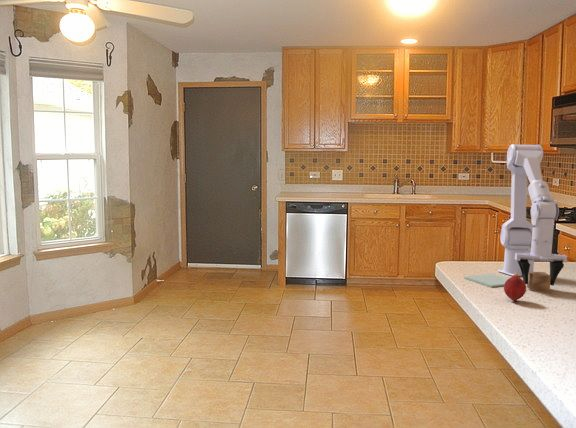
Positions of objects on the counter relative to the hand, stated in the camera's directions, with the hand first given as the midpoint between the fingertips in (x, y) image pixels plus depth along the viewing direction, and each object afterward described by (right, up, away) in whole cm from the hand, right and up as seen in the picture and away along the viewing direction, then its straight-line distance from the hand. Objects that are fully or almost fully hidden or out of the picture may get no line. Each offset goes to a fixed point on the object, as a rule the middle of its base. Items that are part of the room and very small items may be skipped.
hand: (538, 284), depth 165 cm
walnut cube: (0, -2, 0) cm, 2 cm away
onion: (-13, -3, -13) cm, 18 cm away
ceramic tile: (-11, 0, +9) cm, 14 cm away
